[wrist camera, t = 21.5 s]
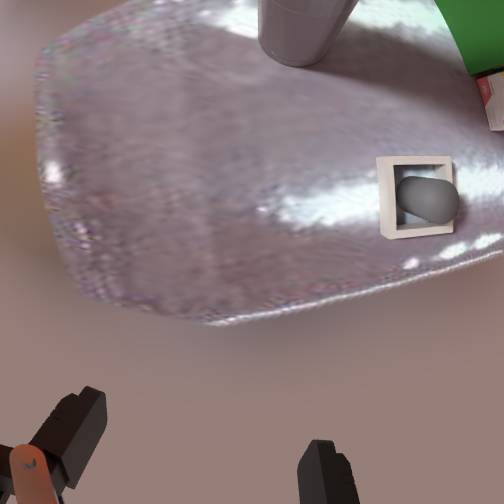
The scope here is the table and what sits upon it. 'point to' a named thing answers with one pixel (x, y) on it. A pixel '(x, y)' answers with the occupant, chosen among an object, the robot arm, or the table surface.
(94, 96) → the table surface
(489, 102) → the ink cartridge box
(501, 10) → the hardback book
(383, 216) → the socket
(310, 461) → the robot arm
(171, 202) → the table surface
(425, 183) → the peg
